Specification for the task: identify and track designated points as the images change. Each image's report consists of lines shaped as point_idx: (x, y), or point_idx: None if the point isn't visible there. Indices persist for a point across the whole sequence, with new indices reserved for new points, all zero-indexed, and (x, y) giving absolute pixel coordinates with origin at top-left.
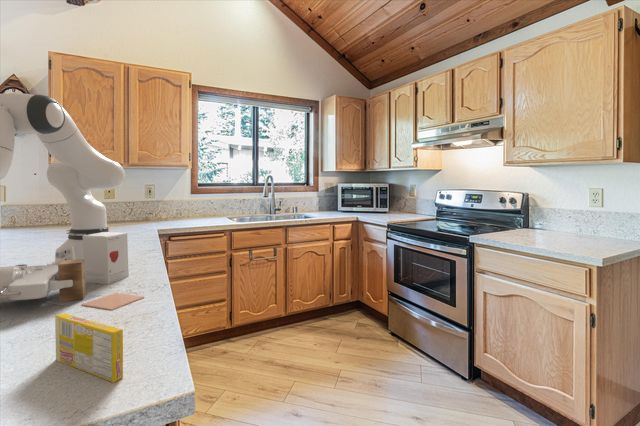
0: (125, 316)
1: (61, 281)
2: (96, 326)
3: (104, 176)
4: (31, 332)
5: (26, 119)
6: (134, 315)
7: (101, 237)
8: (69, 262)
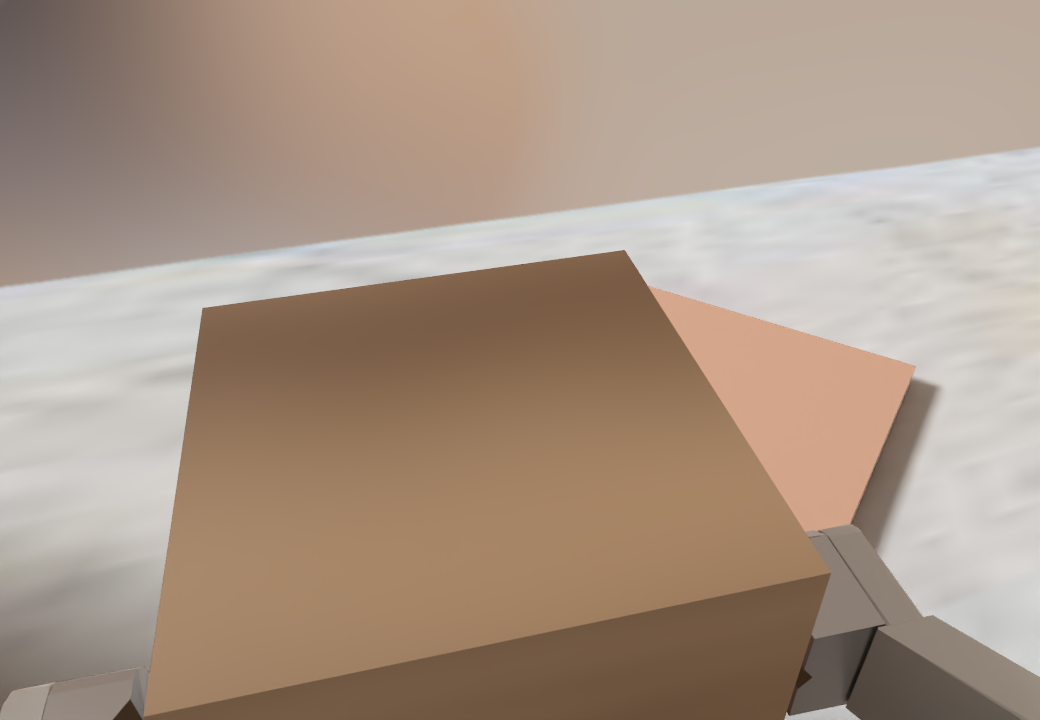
0: (986, 302)
1: (970, 640)
2: None
3: None
4: None
5: None
6: (955, 272)
7: None
8: (565, 416)
